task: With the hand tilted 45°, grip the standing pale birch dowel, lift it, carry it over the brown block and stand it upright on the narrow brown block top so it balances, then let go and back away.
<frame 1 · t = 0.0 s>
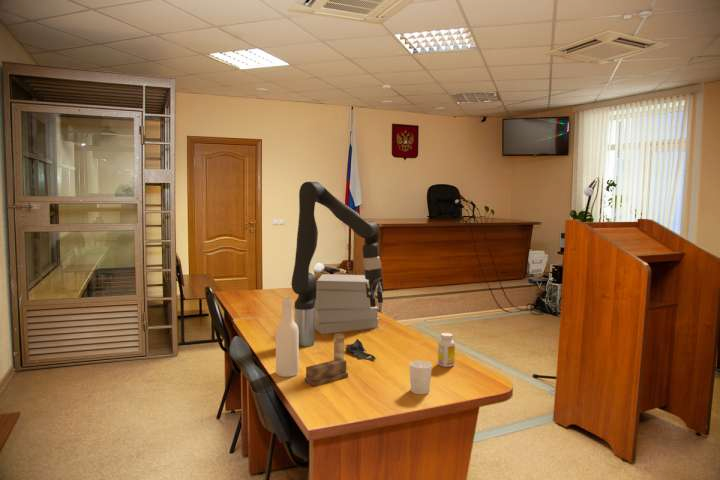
hand: (377, 304, 215), 22 cm above the table, tool pointing down, fingers open, 8 cm apart
supplement bottle: (446, 365, 207), on the table
book stack: (342, 326, 264), on the table
white cup: (419, 391, 179), on the table
alcohol: (287, 374, 195), on the table
decorative bat: (356, 353, 222), on the table
dowel: (338, 369, 200), on the table
brown block: (326, 379, 189), on the table
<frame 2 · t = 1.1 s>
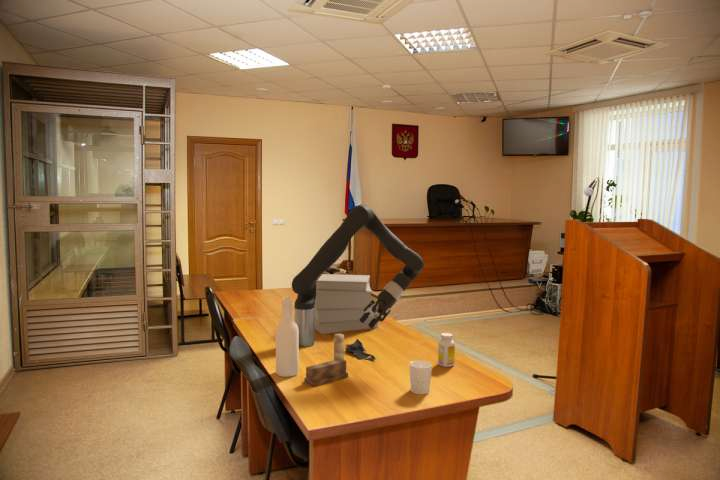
hand: (365, 324, 203), 17 cm above the table, tool tilted 45°, fingers open, 8 cm apart
nothing on the table moved.
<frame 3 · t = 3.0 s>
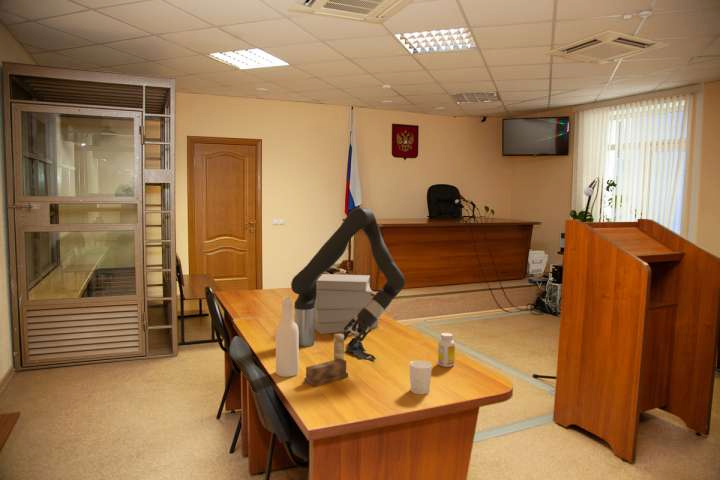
hand: (344, 343, 200), 10 cm above the table, tool tilted 45°, fingers open, 8 cm apart
nothing on the table moved.
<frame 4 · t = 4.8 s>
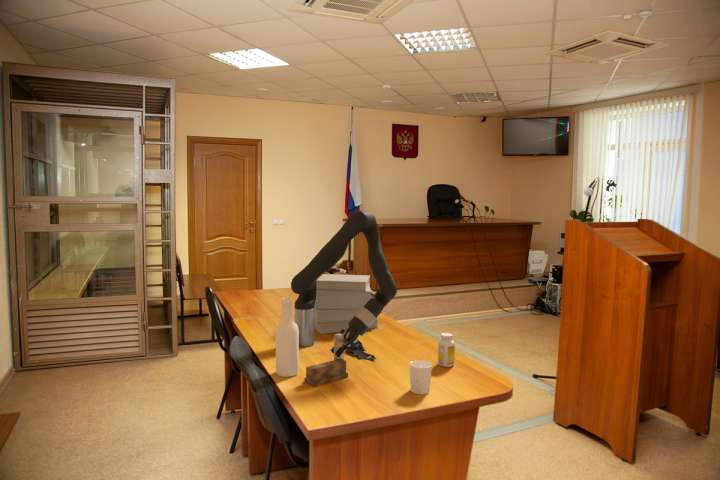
hand: (334, 353, 198), 7 cm above the table, tool tilted 45°, fingers closed on dowel, 4 cm apart
dowel: (338, 369, 200), on the table, touching gripper
everything else where it was.
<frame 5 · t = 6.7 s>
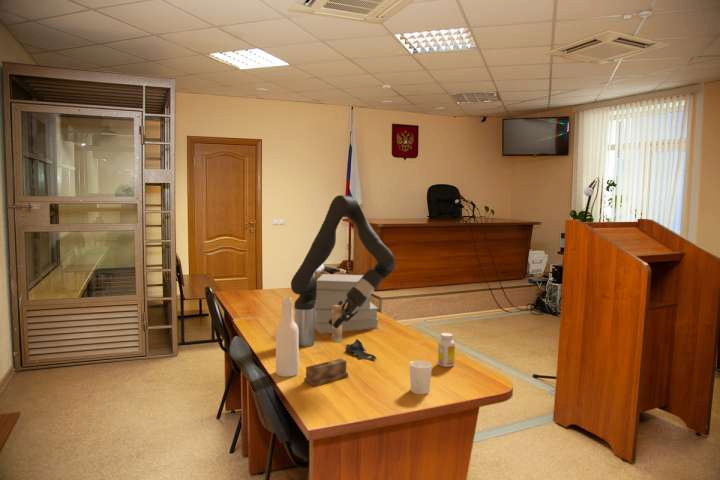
hand: (332, 325, 194), 19 cm above the table, tool tilted 45°, fingers closed on dowel, 4 cm apart
dowel: (337, 341, 196), point 13 cm above the table, touching gripper
everything else where it was.
when the fingers open (13 cm above the table, at t = 8.8 s): dowel stays where it is, resting on brown block.
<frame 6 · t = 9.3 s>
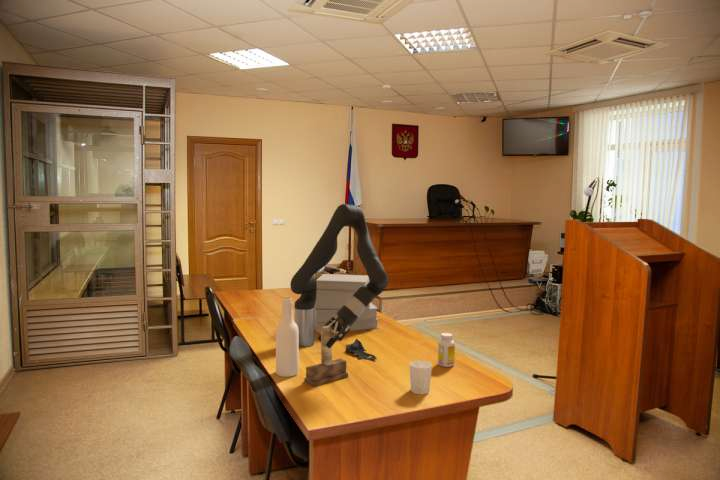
hand: (323, 343, 187), 14 cm above the table, tool tilted 45°, fingers open, 8 cm apart
dowel: (326, 363, 189), point 6 cm above the table, touching brown block
everything else where it was.
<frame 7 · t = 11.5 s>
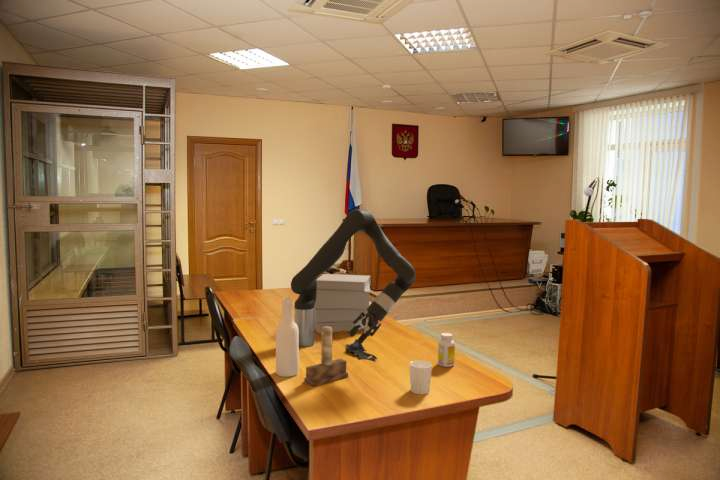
hand: (354, 338, 193), 14 cm above the table, tool tilted 45°, fingers open, 8 cm apart
nothing on the table moved.
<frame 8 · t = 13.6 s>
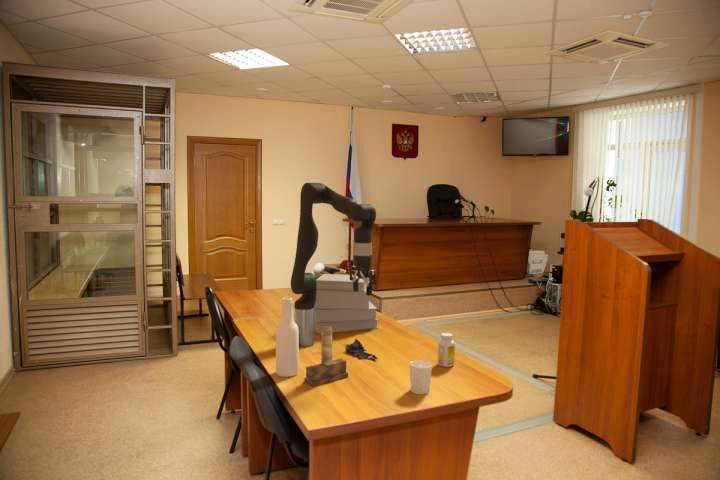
hand: (362, 293, 201), 30 cm above the table, tool pointing down, fingers open, 8 cm apart
nothing on the table moved.
at the end: dowel inside the target area on the brown block (0.1 cm from its centre), point 6.0 cm above the brown block's base; dowel tilted 0°; the gripper is holding nothing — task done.
